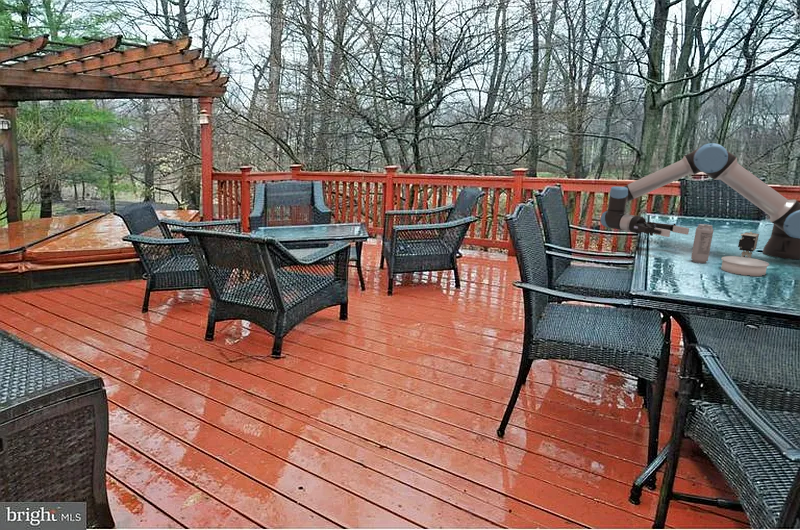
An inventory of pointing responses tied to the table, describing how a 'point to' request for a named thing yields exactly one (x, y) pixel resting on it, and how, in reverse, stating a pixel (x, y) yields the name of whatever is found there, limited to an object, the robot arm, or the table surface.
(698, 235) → the energy drink can
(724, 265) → the pedestal
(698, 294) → the table surface
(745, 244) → the pneumatic valve
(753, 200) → the robot arm
